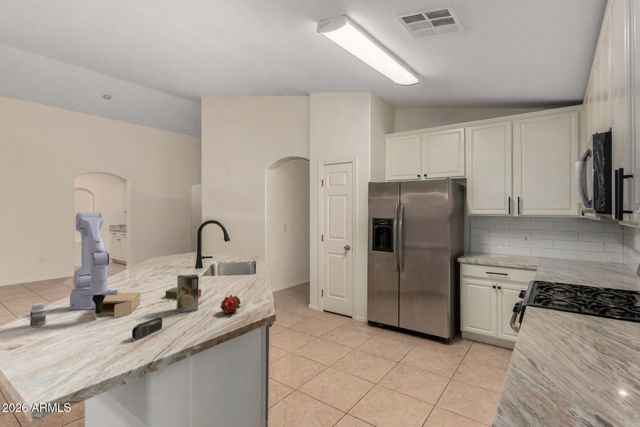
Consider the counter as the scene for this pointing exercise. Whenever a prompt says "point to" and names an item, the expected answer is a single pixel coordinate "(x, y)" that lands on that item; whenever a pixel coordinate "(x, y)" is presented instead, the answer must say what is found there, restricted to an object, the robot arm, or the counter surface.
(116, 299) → the cardboard box
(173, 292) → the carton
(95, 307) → the left flap
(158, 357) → the counter surface
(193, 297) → the coffee box
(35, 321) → the pill bottle
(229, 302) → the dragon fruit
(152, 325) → the mobile phone
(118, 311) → the right flap
